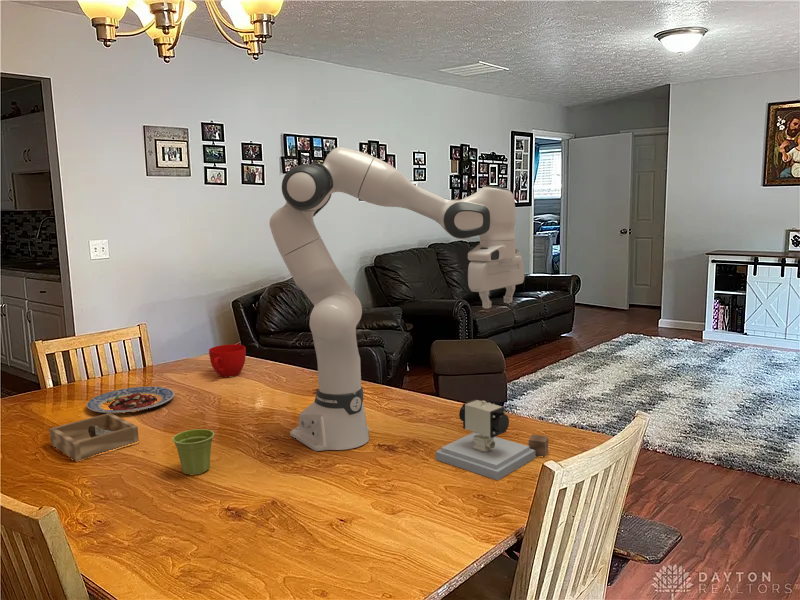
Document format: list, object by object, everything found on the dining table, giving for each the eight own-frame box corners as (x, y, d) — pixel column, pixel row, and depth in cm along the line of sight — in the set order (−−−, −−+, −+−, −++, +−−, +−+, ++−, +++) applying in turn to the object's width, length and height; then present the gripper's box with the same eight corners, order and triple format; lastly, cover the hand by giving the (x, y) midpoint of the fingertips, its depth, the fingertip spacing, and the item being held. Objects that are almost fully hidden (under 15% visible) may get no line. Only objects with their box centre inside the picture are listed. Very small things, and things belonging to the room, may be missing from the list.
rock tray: (51, 445, 171) (49, 428, 170) (111, 429, 182) (109, 412, 181) (76, 462, 159) (74, 444, 158) (139, 443, 171) (137, 426, 170)
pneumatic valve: (497, 458, 148) (497, 408, 146) (458, 445, 156) (458, 398, 154) (511, 452, 152) (512, 403, 150) (473, 439, 160) (473, 392, 158)
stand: (435, 459, 156) (435, 447, 155) (474, 440, 167) (474, 429, 167) (497, 480, 143) (497, 467, 143) (535, 458, 155) (535, 446, 155)
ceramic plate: (191, 400, 208) (191, 391, 207) (120, 424, 187) (119, 414, 186) (142, 388, 222) (141, 380, 221) (70, 410, 200) (69, 401, 200)
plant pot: (174, 466, 155) (171, 432, 154) (214, 459, 159) (211, 426, 158) (176, 482, 147) (173, 446, 146) (219, 474, 151) (216, 439, 149)
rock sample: (133, 426, 170) (103, 409, 167) (116, 452, 166) (86, 434, 163) (123, 433, 178) (94, 416, 175) (106, 457, 173) (77, 441, 170)
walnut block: (528, 455, 157) (528, 440, 156) (531, 449, 160) (531, 434, 160) (544, 457, 155) (545, 442, 155) (547, 451, 159) (548, 436, 158)
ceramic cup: (199, 382, 226) (197, 355, 225) (220, 369, 243) (218, 344, 241) (233, 383, 224) (232, 355, 223) (252, 370, 241) (251, 344, 239)
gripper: (509, 247, 171) (509, 298, 173) (463, 253, 156) (463, 309, 159) (530, 248, 167) (530, 300, 169) (484, 255, 152) (484, 312, 154)
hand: (497, 305), depth 164 cm, fingers open, 8 cm apart
